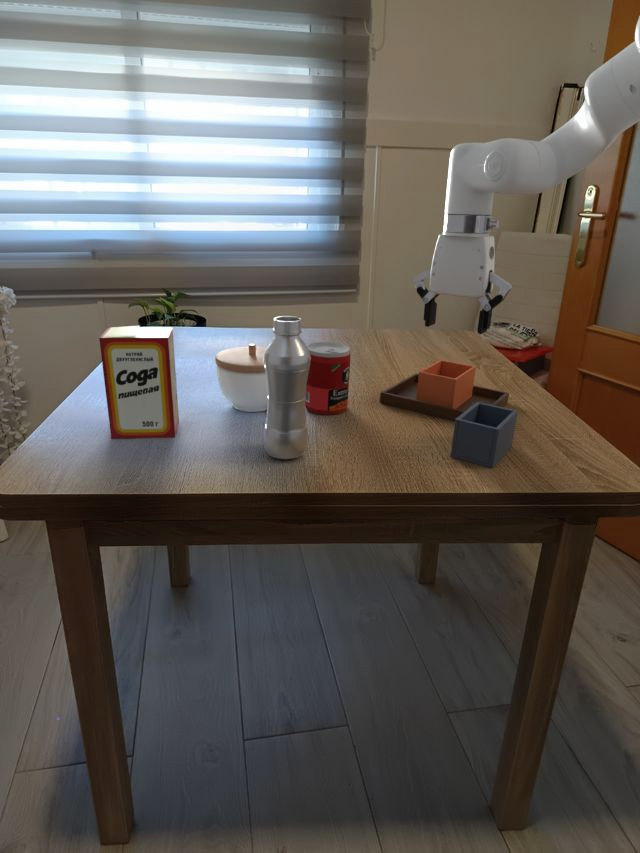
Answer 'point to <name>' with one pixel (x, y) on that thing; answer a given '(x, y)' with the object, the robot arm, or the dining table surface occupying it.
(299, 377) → the silver metal bottle
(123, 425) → the baking soda box
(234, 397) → the lidded bowl
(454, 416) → the tray
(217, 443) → the dining table surface
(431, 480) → the dining table surface
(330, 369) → the canned food
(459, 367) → the terracotta tub
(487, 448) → the grey tub
